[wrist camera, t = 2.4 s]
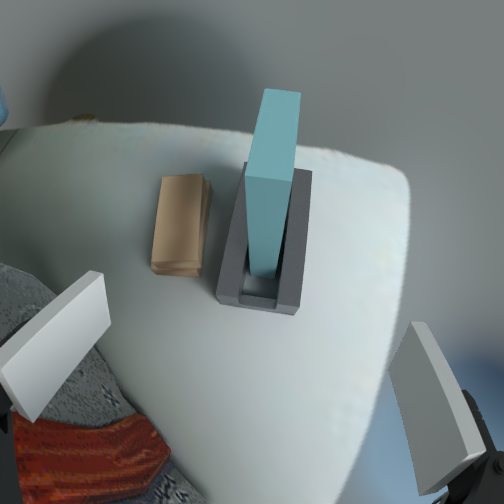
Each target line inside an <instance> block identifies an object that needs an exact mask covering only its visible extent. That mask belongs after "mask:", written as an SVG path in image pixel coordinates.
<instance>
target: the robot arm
mask: <svg viewBox="0 0 504 504" xmlns="http://www.w3.org/2000/svg"><path fill="white" fill-rule="evenodd" d="M7 117H8V106H7V103H6V100H5V97H4V94H3V91H2V89H1V86H0V126H1V125H2V124H3V123H4V122H5V121H6V119H7ZM110 325H111V321H110V315H109V309H108V303H107V297H106V291H105V284H104V276H103V273H99V272H95V271H91V270H90V271H88V272H87V273H86V274H85V275H83V276H82V277H81V278H80V279H78V280H77V281H76V282H75V283H73V284H72V285H71V286H70V287H68V288H67V289H66V290H65V291H64V292H62V293H61V294H60V295H59V296H58V297H56V298H55V299H54V300H53V301H52V302H50V303H49V304H48V305H47V306H46V307H45V308H43V309H42V310H41V311H40V312H39V313H38V314H37V315H35V316H34V317H33V318H30V319H28V320H26V321H24V322H22V323H20V324H19V325H18V326H16V327H15V328H14V329H13V330H12V332H10V333H9V334H8V335H7V336H6V338H3V339H2V340H1V341H0V504H24V502H23V498H22V493H21V488H20V482H19V477H18V470H17V463H16V455H15V446H14V434H13V415H12V411H11V410H10V408H11V406H12V405H14V406H15V408H16V410H17V411H18V413H19V414H20V415H21V416H23V417H24V418H26V419H27V420H29V421H31V422H32V423H34V422H35V420H36V419H37V417H38V416H39V415H40V413H41V412H42V411H43V409H44V408H45V407H46V405H47V404H48V403H49V401H50V400H51V399H52V397H53V396H54V395H55V393H56V392H57V391H58V389H59V388H60V387H61V385H62V384H63V383H64V382H65V380H66V379H67V378H68V376H69V375H70V374H71V373H72V371H73V370H74V369H75V368H76V366H77V365H78V364H79V363H80V361H81V360H82V359H83V358H84V356H85V355H86V354H87V353H88V351H89V350H90V349H91V348H92V347H93V345H94V344H95V343H96V342H97V340H98V339H99V338H100V337H101V336H102V334H103V333H104V332H105V331H106V330H107V329H108V327H109V326H110ZM388 371H389V375H390V378H391V381H392V385H393V388H394V391H395V395H396V398H397V401H398V405H399V409H400V413H401V416H402V420H403V424H404V428H405V432H406V435H407V440H408V444H409V448H410V453H411V457H412V462H413V467H414V471H415V476H416V481H417V486H418V492H419V496H422V495H427V494H431V493H436V492H438V491H439V490H440V489H442V488H443V487H445V486H446V485H447V486H448V491H447V492H446V493H444V494H443V495H442V496H440V497H439V498H437V499H436V500H435V501H434V502H433V503H432V504H436V503H438V502H439V501H440V503H439V504H504V452H502V451H497V450H496V449H495V446H494V444H493V441H492V439H491V436H490V434H489V431H488V429H487V427H486V424H485V422H484V420H482V415H481V413H480V412H479V411H478V410H479V409H478V406H477V404H476V402H475V400H474V398H473V397H472V396H471V395H470V394H469V393H468V392H467V391H466V390H461V389H460V387H459V385H458V383H457V381H456V379H455V377H454V375H453V373H452V371H451V369H450V367H449V365H448V363H447V361H446V359H445V358H444V356H443V354H442V352H441V350H440V348H439V346H438V344H437V343H436V341H435V339H434V337H433V335H432V334H431V332H430V330H429V328H428V327H427V325H426V323H425V322H412V321H411V322H410V324H409V326H408V328H407V331H406V333H405V335H404V337H403V339H402V342H401V344H400V346H399V348H398V350H397V352H396V354H395V356H394V358H393V360H392V362H391V364H390V366H389V368H388Z"/></svg>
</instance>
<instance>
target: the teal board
mask: <svg viewBox="0 0 504 504" xmlns="http://www.w3.org/2000/svg"><path fill="white" fill-rule="evenodd" d="M300 98H301V93H298V92H291V91H283V90H275V89H265V91H264V95H263V99H262V103H261V107H260V112H259V116H258V120H257V124H256V128H255V132H254V137H253V141H252V145H251V150H250V154H249V158H248V163H247V167H246V172H245V190H246V207H247V224H248V241H249V258H250V275H251V276H256V277H263V278H270V279H274V278H275V273H276V268H277V263H278V257H279V252H280V247H281V241H282V236H283V230H284V225H285V219H286V213H287V208H288V202H289V196H290V191H291V185H292V177H293V168H294V159H295V150H296V139H297V130H298V120H299V109H300Z"/></svg>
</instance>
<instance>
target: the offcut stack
mask: <svg viewBox="0 0 504 504" xmlns="http://www.w3.org/2000/svg"><path fill="white" fill-rule="evenodd" d="M211 195H212V187H211V182H210V181H205V180H204V176H203V174H191V175H177V176H165V177H162V183H161V189H160V196H159V202H158V209H157V217H156V224H155V232H154V241H153V250H152V259H151V262H152V263H151V270H152V271H153V272H154V273H155V274H156V275H169V276H183V277H198V278H200V276H201V268H202V259H203V252H204V244H205V237H206V229H207V222H208V215H209V209H210V202H211Z"/></svg>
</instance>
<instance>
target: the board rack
mask: <svg viewBox="0 0 504 504" xmlns="http://www.w3.org/2000/svg"><path fill="white" fill-rule="evenodd" d="M247 163H248V162H244V166H243V171H242V175H241V179H240V184H239V188H238V192H237V197H236V201H235V205H234V210H233V214H232V219H231V223H230V228H229V233H228V237H227V242H226V246H225V251H224V256H223V261H222V265H221V270H220V275H219V280H218V285H217V289H216V296H217V298H218V300H219V302H220V304H223V305H229V306H235V307H242V308H248V309H254V310H261V311H267V312H274V313H281V314H288V315H294V314H295V313H296V312H297V310H298V309H299V307H300V299H301V290H302V282H303V273H304V263H305V254H306V243H307V233H308V221H309V209H310V196H311V182H312V171H310V170H303V169H297V168H294V172H293V178H292V185H291V191H290V199H289V208H288V216H287V224H286V232H285V240H284V247H283V255H282V262H281V270H280V277H279V284H278V291H277V298H276V299H269V298H262V297H256V296H249V295H243V294H242V293H243V288H244V282H245V276H246V271H247V265H248V260H249V241H248V224H247V207H246V190H245V172H246V167H247Z"/></svg>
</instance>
